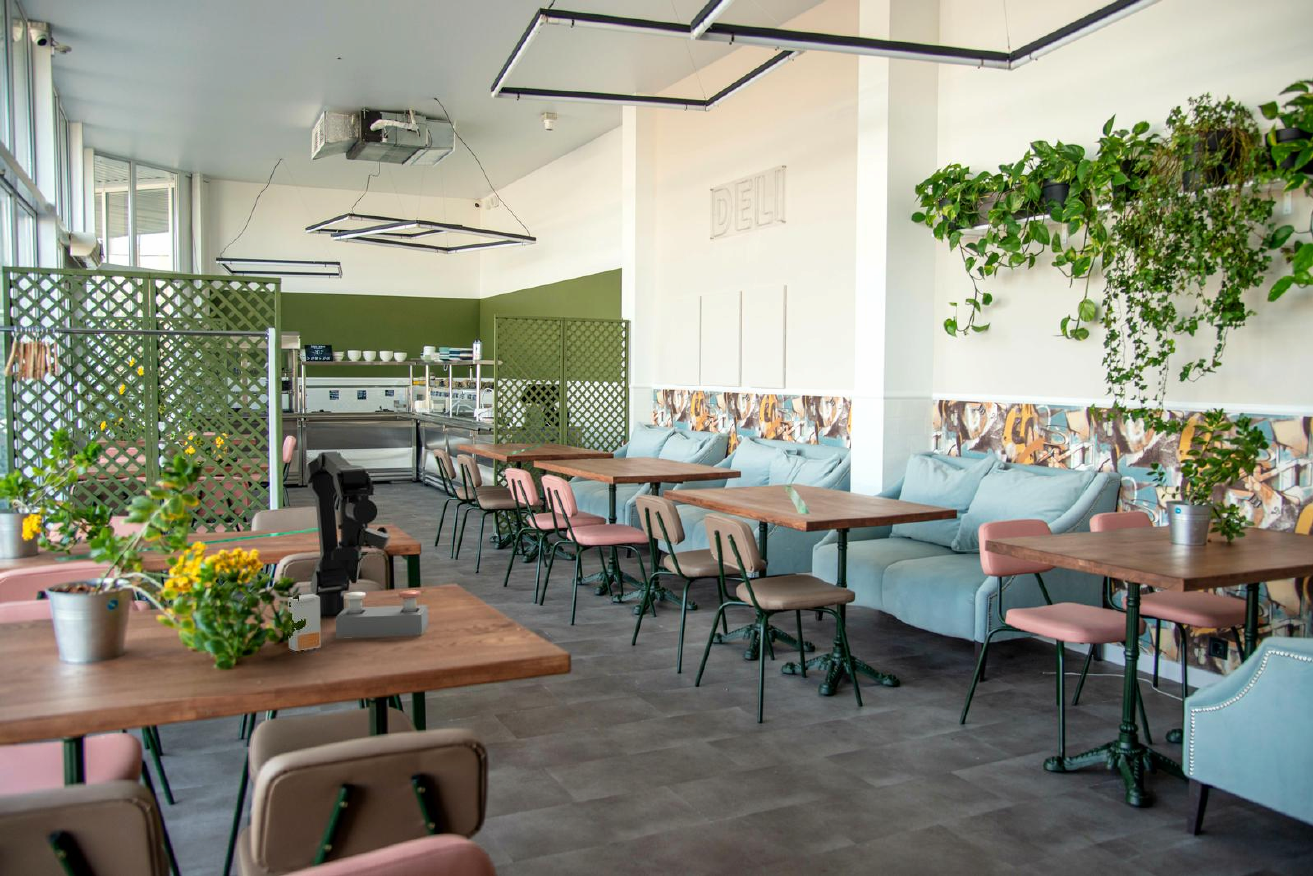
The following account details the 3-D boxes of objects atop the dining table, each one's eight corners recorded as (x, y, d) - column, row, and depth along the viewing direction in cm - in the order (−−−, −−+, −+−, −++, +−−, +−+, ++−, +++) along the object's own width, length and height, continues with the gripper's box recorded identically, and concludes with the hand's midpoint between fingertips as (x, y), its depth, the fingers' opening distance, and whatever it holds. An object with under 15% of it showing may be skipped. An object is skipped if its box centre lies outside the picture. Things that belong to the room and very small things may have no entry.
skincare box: (295, 653, 214) (293, 600, 214) (288, 649, 218) (286, 597, 217) (322, 647, 218) (320, 596, 218) (314, 644, 222) (313, 593, 221)
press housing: (336, 638, 226) (335, 617, 226) (345, 627, 236) (345, 607, 236) (421, 635, 228) (421, 614, 228) (427, 624, 238) (427, 605, 238)
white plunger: (342, 617, 229) (341, 596, 228) (347, 612, 234) (346, 592, 233) (363, 616, 229) (363, 596, 229) (368, 611, 234) (367, 591, 234)
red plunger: (397, 615, 230) (397, 595, 230) (401, 610, 235) (400, 590, 235) (418, 614, 230) (418, 594, 230) (421, 610, 235) (421, 589, 235)
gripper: (379, 524, 222) (380, 590, 223) (393, 513, 240) (395, 574, 241) (329, 525, 221) (331, 591, 222) (348, 514, 239) (350, 575, 240)
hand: (354, 583), depth 231 cm, fingers closed
